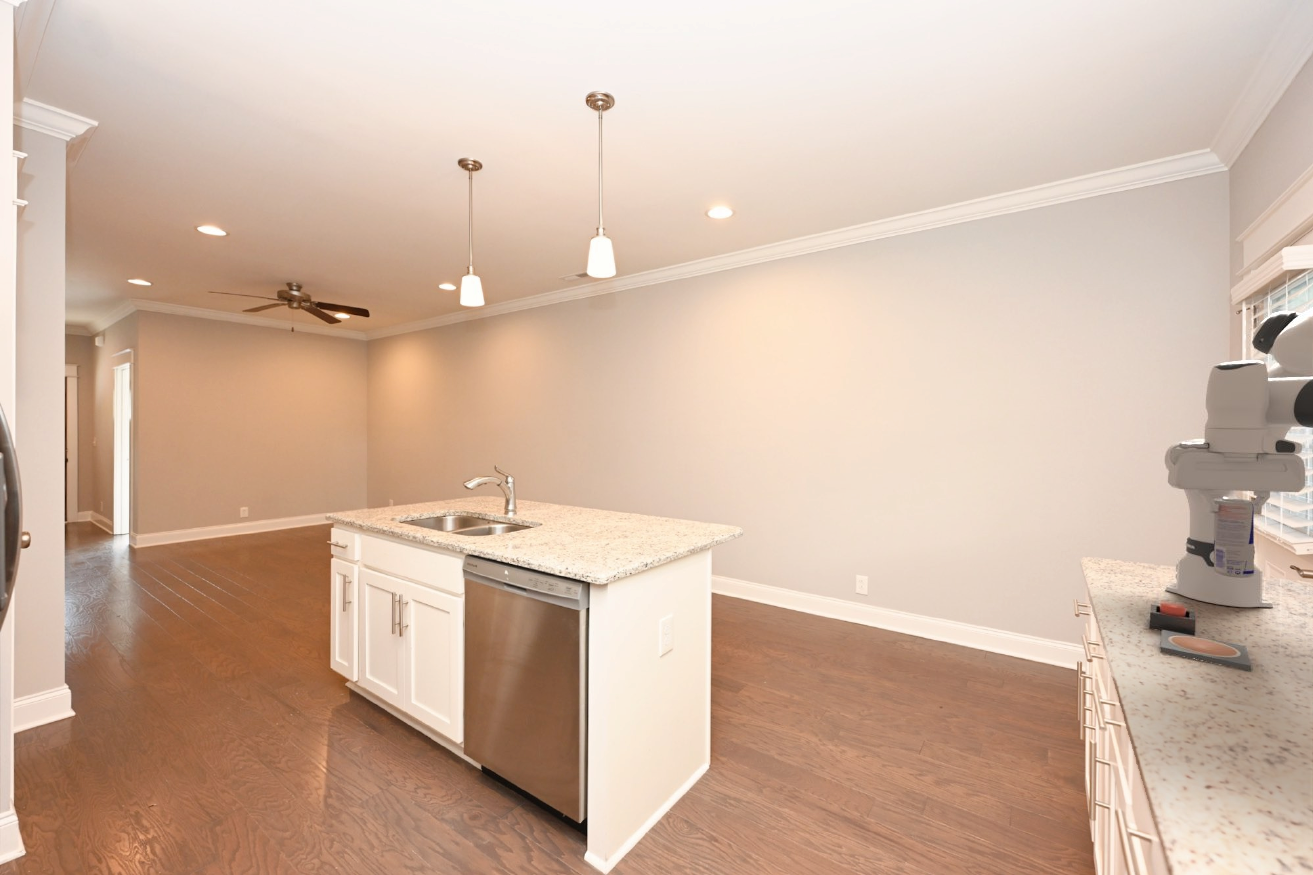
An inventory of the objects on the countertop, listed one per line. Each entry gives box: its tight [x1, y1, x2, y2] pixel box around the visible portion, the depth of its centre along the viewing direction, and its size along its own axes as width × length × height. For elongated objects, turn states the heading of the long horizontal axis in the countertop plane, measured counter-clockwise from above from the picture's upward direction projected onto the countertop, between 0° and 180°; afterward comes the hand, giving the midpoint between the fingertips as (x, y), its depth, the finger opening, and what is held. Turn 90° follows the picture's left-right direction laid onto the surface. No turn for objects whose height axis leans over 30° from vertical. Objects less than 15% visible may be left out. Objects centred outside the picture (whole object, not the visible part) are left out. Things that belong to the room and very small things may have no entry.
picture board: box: [1159, 630, 1252, 672], centre depth 110 cm, size 12×12×1 cm
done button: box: [1159, 602, 1187, 617], centre depth 121 cm, size 4×4×2 cm
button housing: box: [1149, 603, 1197, 636], centre depth 122 cm, size 7×7×4 cm
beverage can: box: [1214, 498, 1255, 578], centre depth 115 cm, size 6×6×15 cm
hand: (1232, 513), depth 114 cm, fingers closed on beverage can, 5 cm apart
